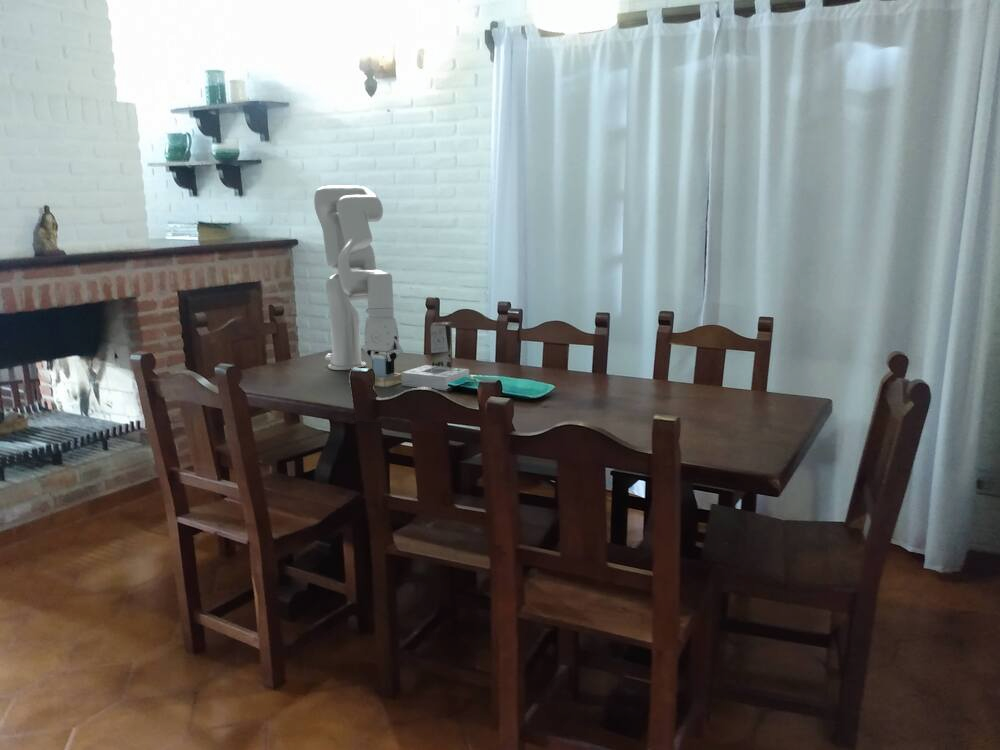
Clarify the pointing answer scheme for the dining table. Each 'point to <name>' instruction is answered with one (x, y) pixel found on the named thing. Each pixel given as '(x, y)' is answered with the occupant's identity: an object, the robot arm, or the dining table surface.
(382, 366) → the plug
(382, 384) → the wooden square frame
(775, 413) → the dining table surface
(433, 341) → the coffee box
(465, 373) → the port
